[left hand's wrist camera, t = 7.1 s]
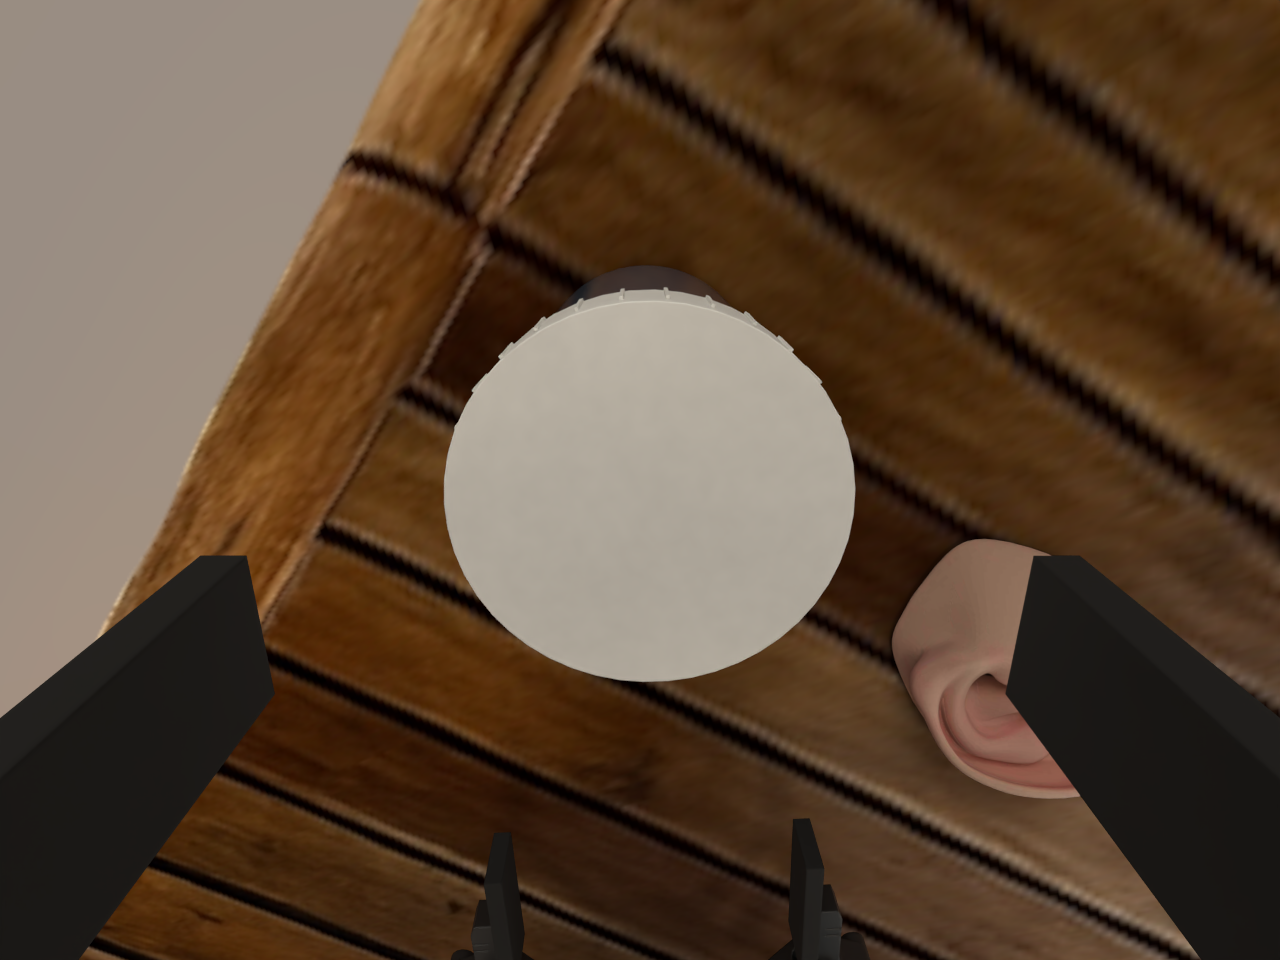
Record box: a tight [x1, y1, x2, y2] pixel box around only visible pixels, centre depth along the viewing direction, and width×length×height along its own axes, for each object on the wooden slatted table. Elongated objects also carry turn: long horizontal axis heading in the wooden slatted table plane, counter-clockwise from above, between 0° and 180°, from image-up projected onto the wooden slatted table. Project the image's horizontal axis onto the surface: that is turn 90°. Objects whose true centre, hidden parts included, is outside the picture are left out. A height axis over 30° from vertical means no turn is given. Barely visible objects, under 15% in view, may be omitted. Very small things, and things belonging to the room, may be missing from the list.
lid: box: [444, 287, 855, 682], centre depth 21 cm, size 11×11×2 cm
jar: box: [556, 265, 732, 313], centre depth 27 cm, size 10×10×16 cm
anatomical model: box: [892, 539, 1080, 798], centre depth 38 cm, size 13×4×12 cm
